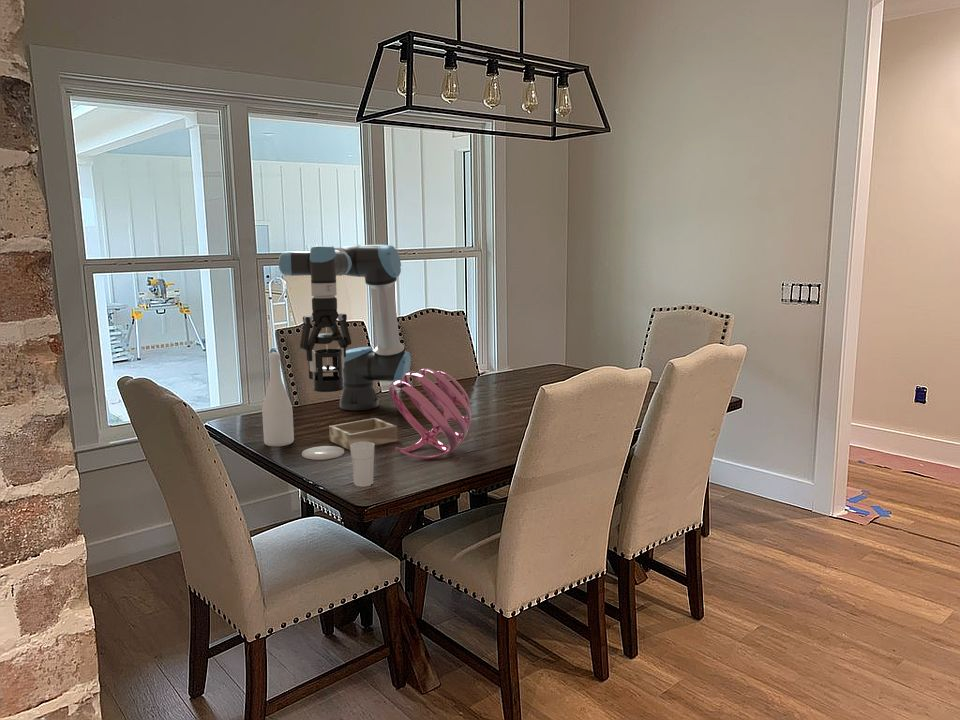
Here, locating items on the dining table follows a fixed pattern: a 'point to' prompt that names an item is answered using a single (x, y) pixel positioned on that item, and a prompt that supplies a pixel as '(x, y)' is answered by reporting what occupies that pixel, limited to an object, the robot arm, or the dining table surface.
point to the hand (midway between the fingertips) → (327, 369)
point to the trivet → (323, 452)
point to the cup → (362, 463)
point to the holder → (363, 432)
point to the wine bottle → (277, 408)
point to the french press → (322, 381)
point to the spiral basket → (433, 410)
